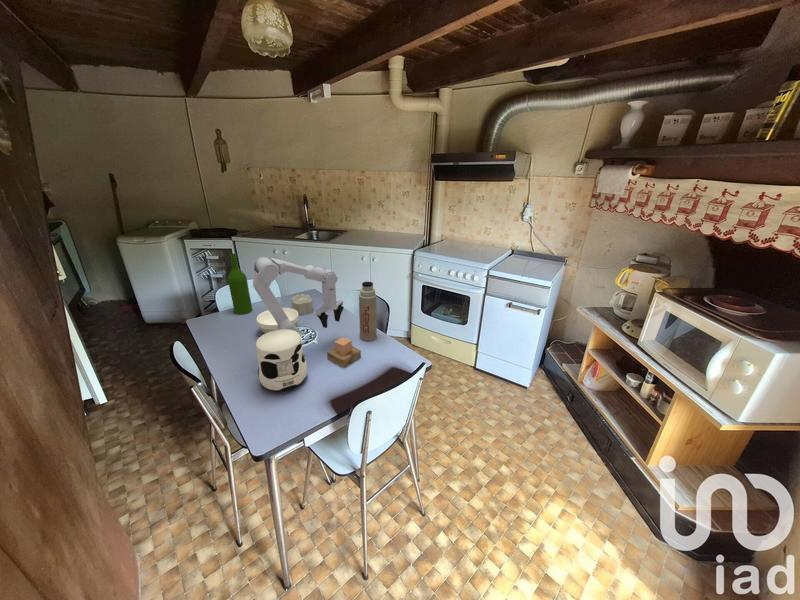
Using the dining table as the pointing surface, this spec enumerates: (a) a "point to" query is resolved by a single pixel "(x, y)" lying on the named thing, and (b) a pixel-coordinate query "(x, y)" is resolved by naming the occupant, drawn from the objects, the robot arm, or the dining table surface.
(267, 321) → the bowl
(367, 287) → the thermos bottle
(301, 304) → the lumpy-topped squat cylinder
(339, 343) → the terracotta cube
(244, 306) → the wine bottle
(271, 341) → the milk container
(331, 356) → the walnut base
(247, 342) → the dining table surface
